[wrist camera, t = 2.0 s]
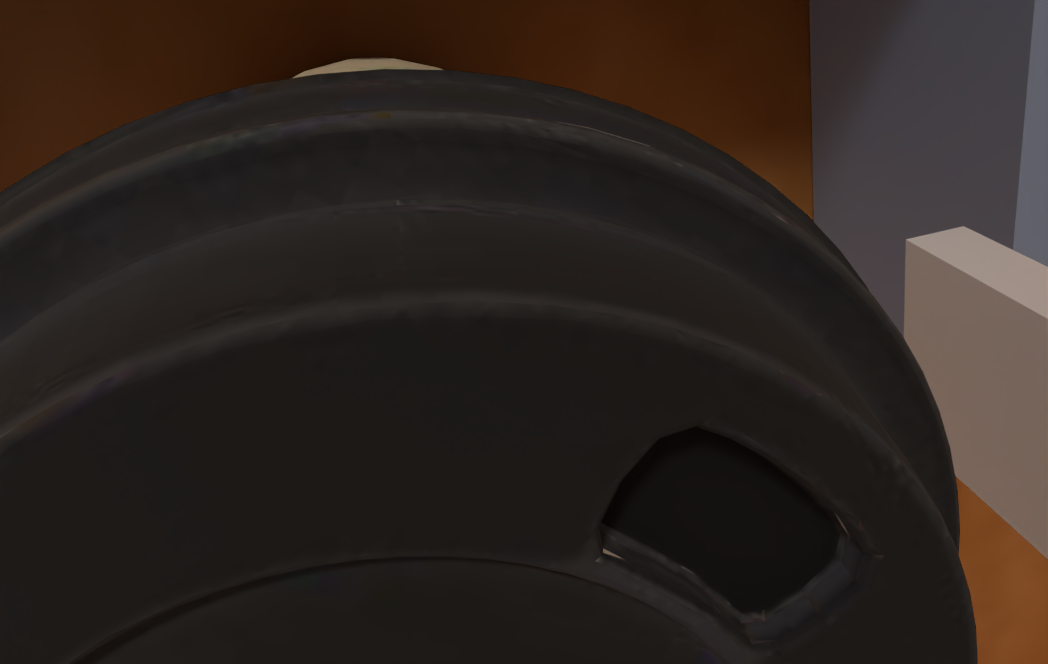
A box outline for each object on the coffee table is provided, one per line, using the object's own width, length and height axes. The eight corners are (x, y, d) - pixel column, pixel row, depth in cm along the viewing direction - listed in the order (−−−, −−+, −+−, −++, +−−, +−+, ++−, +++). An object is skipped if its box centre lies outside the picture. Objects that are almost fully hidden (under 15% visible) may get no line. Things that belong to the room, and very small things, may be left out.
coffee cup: (638, 26, 19) (1353, 305, 5) (533, 412, 22) (808, 1156, 9) (165, -90, 16) (-652, -108, 3) (132, 362, 20) (-311, 1277, 7)
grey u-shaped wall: (-349, -50, 15) (-831, -25, 9) (852, -264, 17) (1140, -364, 11) (-19, 537, 21) (-174, 799, 15) (852, 329, 23) (1040, 485, 17)
